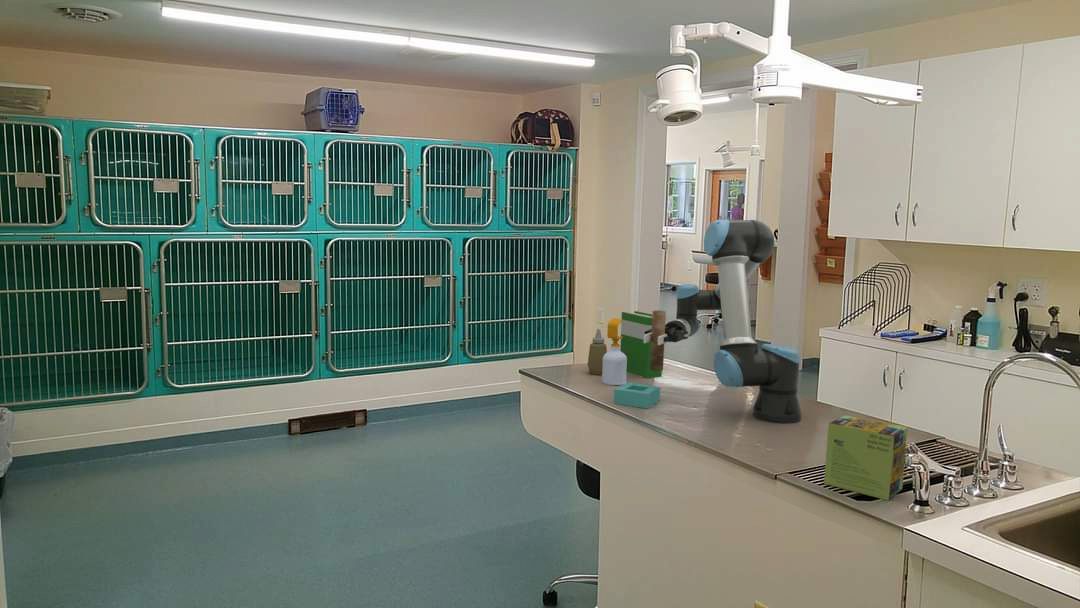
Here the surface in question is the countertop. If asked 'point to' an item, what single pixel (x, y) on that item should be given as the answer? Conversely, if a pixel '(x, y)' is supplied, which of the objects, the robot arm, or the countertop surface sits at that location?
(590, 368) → the squeeze bottle
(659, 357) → the dowel
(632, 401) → the socket
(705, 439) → the countertop surface
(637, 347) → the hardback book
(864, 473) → the protein box
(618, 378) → the soap bottle
